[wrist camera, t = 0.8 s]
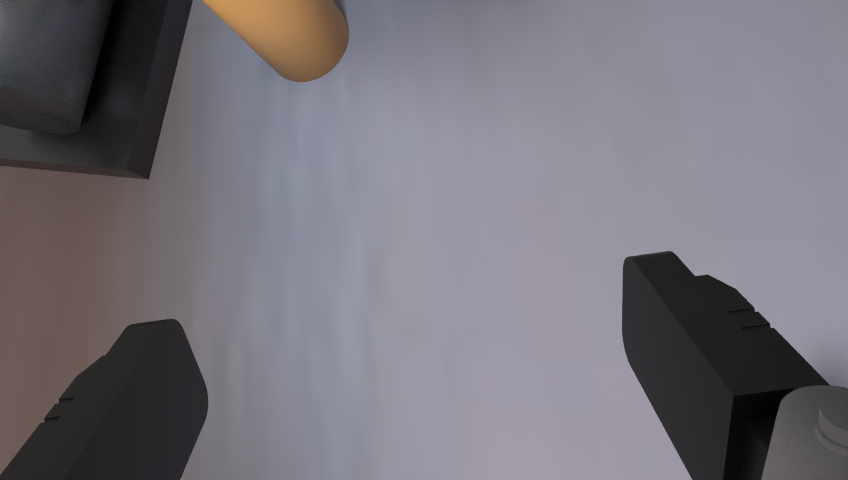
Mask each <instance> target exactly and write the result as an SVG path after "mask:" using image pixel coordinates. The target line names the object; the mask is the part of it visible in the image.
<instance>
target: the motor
mask: <svg viewBox="0 0 848 480" xmlns="http://www.w3.org/2000/svg"><path fill="white" fill-rule="evenodd" d="M191 4H192V0H0V165H1V166H12V167H23V168H33V169H44V170H55V171H65V172H76V173H86V174H97V175H108V176H118V177H129V178H140V179H149V175H150V171H151V167H152V163H153V159H154V155H155V151H156V146H157V142H158V138H159V134H160V130H161V126H162V122H163V118H164V114H165V110H166V106H167V102H168V98H169V93H170V89H171V85H172V81H173V77H174V73H175V69H176V65H177V61H178V57H179V53H180V49H181V45H182V40H183V36H184V32H185V28H186V24H187V20H188V16H189V12H190V8H191Z"/></svg>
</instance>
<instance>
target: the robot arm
mask: <svg viewBox="0 0 848 480" xmlns="http://www.w3.org/2000/svg"><path fill="white" fill-rule="evenodd" d="M622 335H623V343H624V348H625V352H626V355H627V358H628V361H629V364H630V366H631V368H632V369H633V371H634V373H635V375H636V377H637V379H638V381H639V382H640V384H641V386H642V388H643V390H644V392H645V393H646V395H647V397H648V399H649V401H650V403H651V404H652V406H653V408H654V410H655V412H656V414H657V415H658V417H659V419H660V421H661V423H662V425H663V427H664V428H665V430H666V432H667V434H668V436H669V438H670V439H671V441H672V443H673V445H674V447H675V449H676V450H677V452H678V454H679V456H680V458H681V460H682V462H683V463H684V465H685V467H686V469H687V471H688V473H689V474H690V476H691V478H692V480H848V388H843V387H837V386H830V385H829V384H828V383H827V382H826V381H825V380H824V379H823V378H822V377H821V376H820V375H819V374H818V373H817V372H816V371H815V369H814V368H813V367H812V366H811V365H810V364H809V363H808V362H807V361H806V360H805V359H804V358H803V357H802V356H801V355H800V354H799V353H798V352H797V351H796V350H795V349H794V348H793V347H792V346H791V345H790V344H789V343H788V342H787V341H786V340H785V339H784V338H783V337H782V336H781V335H780V334H779V333H778V332H777V331H776V330H775V329H774V328H771V327H770V323H769V322H768V321H767V320H766V319H765V318H764V317H763V316H762V315H761V314H760V313H759V312H755V310H754V307H753V306H752V305H751V304H750V303H749V302H748V301H747V300H746V299H745V298H744V297H743V296H742V295H741V294H740V293H739V292H738V291H737V290H736V289H735V288H733V287H731V286H729V285H727V284H725V283H723V282H721V281H719V280H717V279H715V278H713V277H711V276H709V275H702V276H694V275H693V274H692V272H691V271H690V270H689V269H688V268H687V267H686V266H685V265H684V263H683V262H682V261H681V260H680V259H679V258H678V257H677V256H676V254H674V253H673V252H671V251H667V252H659V253H652V254H645V255H638V256H630V257H627V258H626V259H625V261H624V265H623V302H622ZM207 411H208V394H207V388H206V385H205V382H204V379H203V377H202V374H201V372H200V369H199V367H198V364H197V362H196V359H195V357H194V354H193V352H192V349H191V347H190V344H189V342H188V339H187V337H186V335H185V332H184V330H183V328H182V326H181V324H180V323H179V322H178V321H177V320H175V319H166V320H159V321H151V322H144V323H137V324H131V325H129V326H128V327H127V328H126V329H125V330H124V331H123V333H122V334H121V335H120V337H119V338H118V339H117V341H116V342H115V343H114V345H113V346H112V347H111V349H110V350H109V352H108V353H107V354H106V356H102V357H101V358H99V359H98V360H97V361H96V362H94V363H93V364H92V365H90V366H89V367H88V368H87V369H85V370H84V371H83V372H82V373H80V374H79V375H78V376H77V377H76V378H75V379H74V380H73V382H72V383H71V384H70V386H69V387H68V388H67V389H66V391H65V392H64V393H63V395H62V396H61V397H60V399H59V403H58V404H55V405H54V406H53V408H52V409H51V410H50V411H49V413H48V414H47V415H46V417H45V418H44V419H45V422H44V423H40V424H39V426H38V427H37V428H36V430H35V431H34V432H33V433H32V435H31V436H30V437H29V439H28V440H27V441H26V443H25V444H24V445H23V446H22V448H21V449H20V450H19V452H18V453H17V454H16V456H15V457H14V458H13V459H12V461H11V462H10V463H9V465H8V466H7V467H6V468H5V470H4V471H3V472H2V474H1V475H0V480H180V478H181V476H182V474H183V471H184V469H185V467H186V464H187V462H188V460H189V457H190V455H191V453H192V450H193V448H194V446H195V443H196V441H197V438H198V436H199V434H200V431H201V429H202V427H203V424H204V422H205V419H206V416H207Z"/></svg>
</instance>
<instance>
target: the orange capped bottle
mask: <svg viewBox="0 0 848 480" xmlns="http://www.w3.org/2000/svg"><path fill="white" fill-rule="evenodd" d="M202 1H203V2H204V3H205V4H207V5H208V6H209V7H210V8H211V9H212V10H213V11H214V12H215V13H216V14H217V15H218V16H219V17H220V18H221V19H222V20H223V21H224V22H225V23H226V24H227V25H228V26H229V27H230V28H231V29H232V30H234V31H235V32H236V33H237V34H238V35H239V36H240V37H241V38H242V39H243V40H244V41H245V42H246V43H247V44H248V45H249V46H250V47H251V48H252V49H253V50H254V51H255V52H256V53H257V54H258V55H259V56H260V57H262V58H263V59H264V60H265V61H266V62H267V63H268V64H269V65H270V66H271V67H272V68H273V69H274V70H275V71H276V72H277V73H278V74H279V75H281V76H282V77H284V78H285V79H288V80H291V81H295V82H306V81H311V80H315V79H317V78H319V77H322V76H323V75H325V74H326V73H328V72H329V71H331V70H332V69H333V68H334V67H335V66H336V65H337V63H338V62H339V61H340V59H341V58H342V56H343V54H344V53H345V50H346V48H347V44H348V38H349V30H348V24H347V21H346V19H345V17H344V15H343V14H342V13H341V11H340V10H339V8H338V7H337V5H336V4H335V2H334V1H333V0H202Z"/></svg>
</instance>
